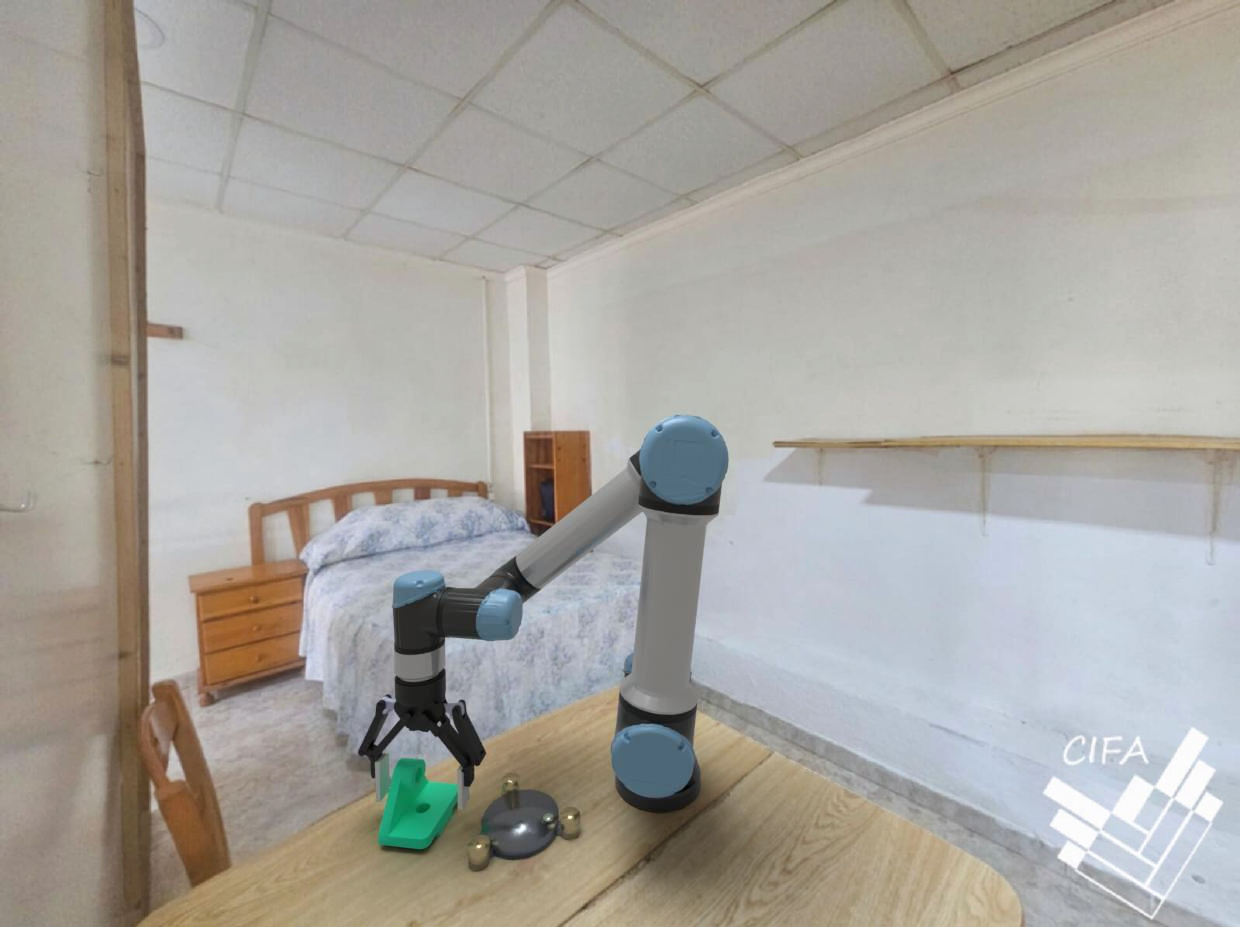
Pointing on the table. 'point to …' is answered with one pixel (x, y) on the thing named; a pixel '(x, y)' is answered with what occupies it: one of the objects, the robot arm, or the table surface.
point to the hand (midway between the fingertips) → (423, 800)
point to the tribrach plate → (520, 825)
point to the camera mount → (415, 806)
